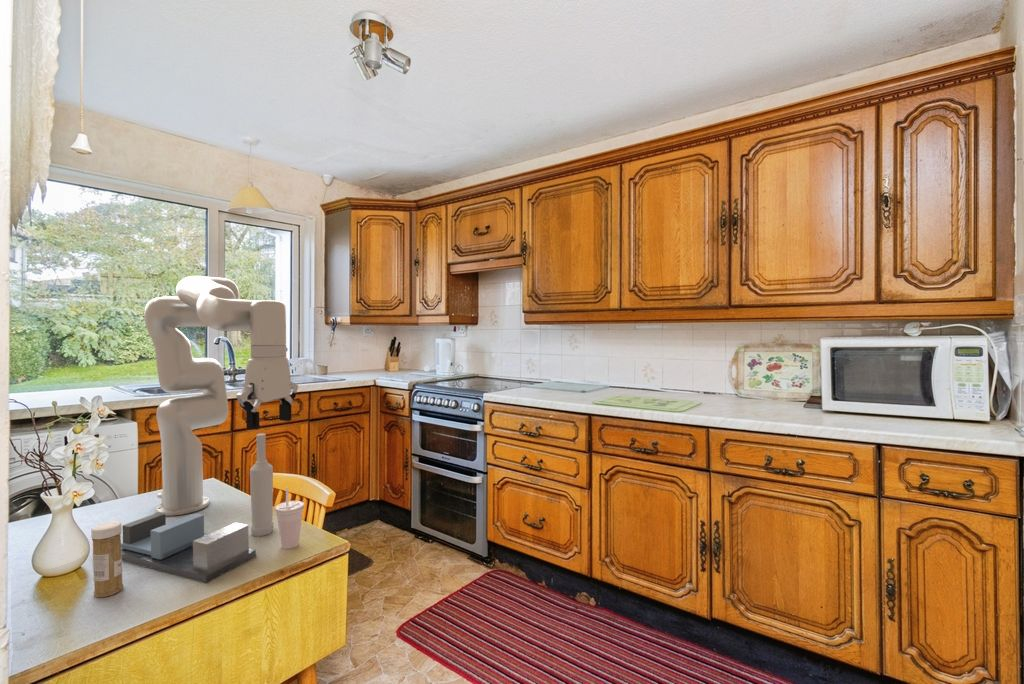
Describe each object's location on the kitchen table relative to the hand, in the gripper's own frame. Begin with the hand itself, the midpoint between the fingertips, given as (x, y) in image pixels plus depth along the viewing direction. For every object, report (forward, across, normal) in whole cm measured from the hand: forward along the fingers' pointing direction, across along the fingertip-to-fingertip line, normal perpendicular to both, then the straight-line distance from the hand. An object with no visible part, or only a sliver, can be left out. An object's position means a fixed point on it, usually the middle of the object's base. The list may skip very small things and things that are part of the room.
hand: (269, 424), depth 114 cm
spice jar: (+29, +27, -14) cm, 42 cm away
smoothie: (+29, -1, +5) cm, 30 cm away
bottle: (+29, -4, -7) cm, 30 cm away
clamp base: (+29, +12, -14) cm, 34 cm away
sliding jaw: (+27, +11, -21) cm, 36 cm away
